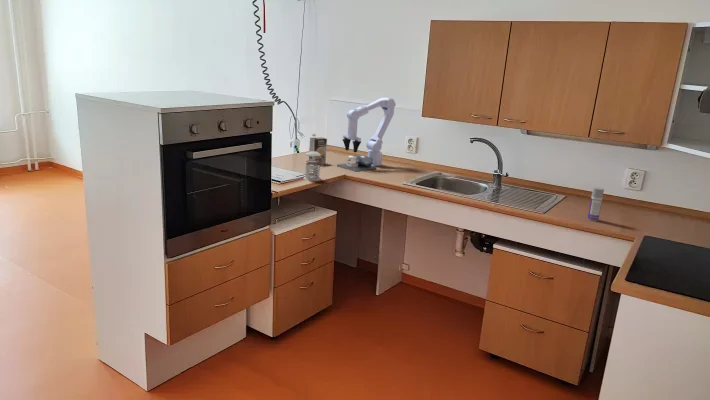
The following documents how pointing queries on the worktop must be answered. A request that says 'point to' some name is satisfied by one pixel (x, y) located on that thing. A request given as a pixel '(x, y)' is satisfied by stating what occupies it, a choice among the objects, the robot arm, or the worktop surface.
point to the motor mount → (359, 164)
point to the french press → (315, 168)
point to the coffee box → (318, 149)
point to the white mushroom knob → (352, 159)
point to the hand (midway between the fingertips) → (351, 151)
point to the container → (595, 204)
